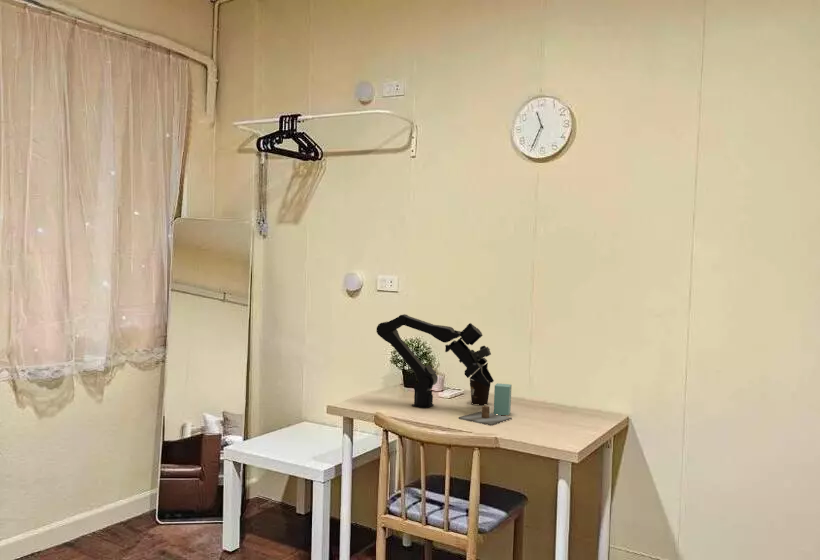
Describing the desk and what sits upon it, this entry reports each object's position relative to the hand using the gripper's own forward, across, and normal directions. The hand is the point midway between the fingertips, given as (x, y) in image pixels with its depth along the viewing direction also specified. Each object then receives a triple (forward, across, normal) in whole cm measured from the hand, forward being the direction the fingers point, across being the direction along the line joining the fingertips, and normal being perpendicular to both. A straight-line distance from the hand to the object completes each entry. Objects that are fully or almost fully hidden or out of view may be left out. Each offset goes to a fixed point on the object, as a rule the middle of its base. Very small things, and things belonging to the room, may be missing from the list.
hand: (491, 383), depth 255 cm
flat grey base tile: (+8, -11, +8) cm, 16 cm away
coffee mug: (+3, +16, +13) cm, 21 cm away
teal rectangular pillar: (+11, 0, +5) cm, 12 cm away
